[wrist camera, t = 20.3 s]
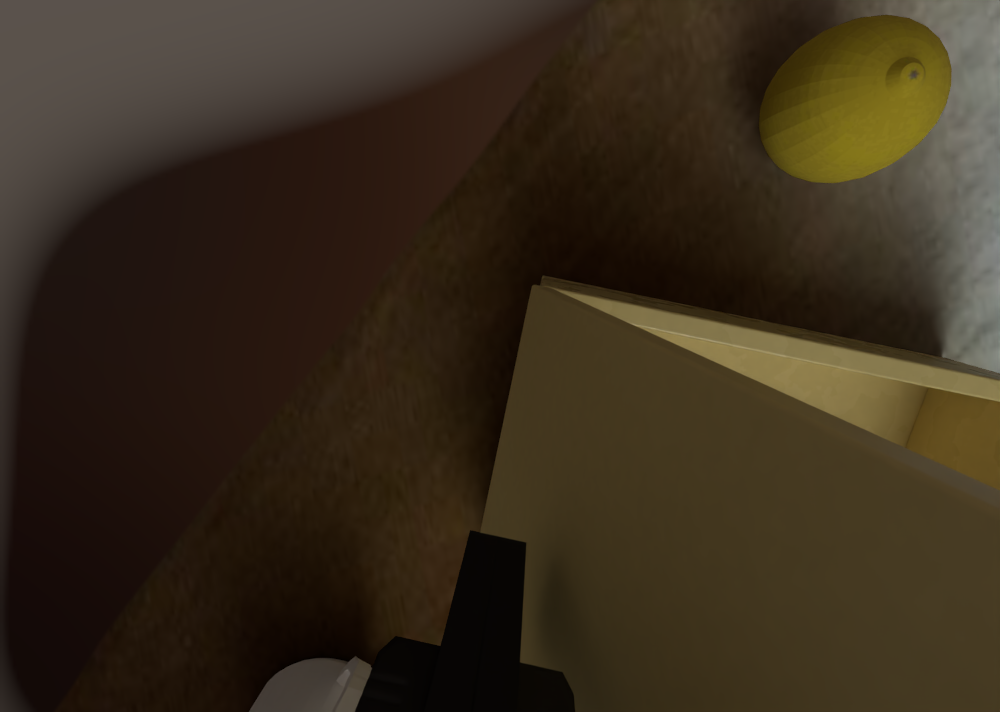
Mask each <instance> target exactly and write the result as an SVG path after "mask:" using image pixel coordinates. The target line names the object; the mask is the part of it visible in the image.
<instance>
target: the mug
mask: <svg viewBox="0 0 1000 712" xmlns="http://www.w3.org/2000/svg"><path fill="white" fill-rule="evenodd" d="M371 670H372V668H371V665H370V664H368V663H366V662H364V661H362V660H360V659H359V658H358V657H356V656H355V657H354V658H352V659H351V660H350V661H349V662H347V661H343V660H338V659H333V658H314V659H308V660H303V661H300V662H297V663H295V664H292V665H290V666H288V667H286V668H284V669H283V670H281V671H279V672H278V673H276V674H275V675H274V676H273V677H272V678H271V679H270V680H269V681H268V682H267V684H266V685H265V687H264V688H263V690H262V692H261V693H260V695H259V696H258V698H257V699H256V701H255V703H254V704H253V706H252V707H251V709H250V711H249V712H355V710H356V707H357V705H358V702H359V700H360V697H361V696H362V693H363V690H364V687H365V685H366V682H367V680H368V678H369V676H370V672H371Z"/></svg>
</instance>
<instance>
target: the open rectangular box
mask: <svg viewBox="0 0 1000 712" xmlns="http://www.w3.org/2000/svg"><path fill="white" fill-rule="evenodd" d="M540 286H544V287H549V288H552V289H555V290H557V291H559V292H561V293H563V294H566V295H568V296H570V297H572V298H574V299H577V300H579V301H581V302H583V303H586V304H588V305H590V306H592V307H594V308H597V309H599V310H601V311H603V312H605V313H608V314H610V315H612V316H614V317H617V318H619V319H621V320H623V321H625V322H628V323H630V324H632V325H634V326H636V327H639V328H641V329H643V330H645V331H648V332H650V333H652V334H654V335H656V336H659V337H661V338H663V339H665V340H667V341H670V342H672V343H674V344H676V345H679V346H681V347H683V348H685V349H687V350H690V351H692V352H694V353H696V354H698V355H701V356H703V357H705V358H707V359H710V360H712V361H714V362H716V363H718V364H721V365H723V366H725V367H727V368H729V369H732V370H734V371H736V372H738V373H741V374H743V375H745V376H747V377H749V378H752V379H754V380H756V381H758V382H760V383H763V384H765V385H767V386H769V387H772V388H774V389H776V390H778V391H780V392H783V393H785V394H787V395H789V396H791V397H794V398H796V399H798V400H800V401H803V402H805V403H807V404H809V405H811V406H814V407H816V408H818V409H820V410H822V411H825V412H827V413H829V414H831V415H834V416H836V417H838V418H840V419H842V420H845V421H847V422H849V423H851V424H853V425H856V426H858V427H860V428H862V429H865V430H867V431H869V432H871V433H873V434H876V435H878V436H880V437H882V438H885V439H887V440H889V441H891V442H893V443H896V444H898V445H900V446H902V447H904V448H907V449H909V450H911V451H913V452H916V453H918V454H920V455H922V456H924V457H927V458H929V459H931V460H933V461H935V462H938V463H940V464H942V465H944V466H947V467H949V468H951V469H953V470H955V471H958V472H960V473H962V474H964V475H966V476H969V477H971V478H973V479H975V480H978V481H980V482H982V483H984V484H986V485H989V486H991V487H993V488H995V489H997V490H1000V373H996V372H993V371H989V370H986V369H982V368H979V367H975V366H971V365H968V364H964V363H961V362H957V361H954V360H950V359H947V358H943V357H938V356H933V355H929V354H924V353H919V352H914V351H909V350H904V349H899V348H894V347H890V346H885V345H880V344H875V343H870V342H865V341H860V340H856V339H851V338H846V337H841V336H836V335H831V334H826V333H821V332H817V331H812V330H807V329H802V328H797V327H792V326H787V325H783V324H778V323H773V322H768V321H763V320H758V319H753V318H748V317H744V316H739V315H734V314H729V313H724V312H719V311H714V310H710V309H705V308H700V307H695V306H690V305H685V304H680V303H675V302H671V301H666V300H661V299H656V298H651V297H646V296H641V295H637V294H632V293H627V292H622V291H617V290H612V289H607V288H602V287H598V286H593V285H588V284H583V283H578V282H573V281H568V280H564V279H559V278H554V277H549V276H544V275H543V276H542V279H541V284H540Z"/></svg>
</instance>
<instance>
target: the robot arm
mask: <svg viewBox="0 0 1000 712" xmlns="http://www.w3.org/2000/svg"><path fill="white" fill-rule="evenodd" d="M526 543H527V542H522V541H517V540H513V539H508V538H504V537H499V536H494V535H490V534H485V533H480V532H476V531H471V530H470V533H469V537H468V541H467V545H466V549H465V553H464V557H463V561H462V565H461V569H460V573H459V577H458V580H457V584H456V588H455V592H454V596H453V600H452V604H451V608H450V612H449V616H448V620H447V624H446V628H445V632H444V635H443V639H442V643H441V646H437V645H433V644H429V643H424V642H420V641H415V640H411V639H406V638H402V637H397V636H395V637H394V638H393V639H392V640H391V641H390V642H389V643H388V644H387V645H386V646H385V647H384V648H383V649H381V650H380V651H379V653H378V655H377V658H376V660H375V663H374V665H373V667H372V670H371V672H370V676H369V678H368V680H367V682H366V685H365V687H364V690H363V693H362V696H361V697H360V700H359V702H358V705H357V707H356V710H355V712H575V703H574V694H573V692H572V690H571V688H570V686H569V684H568V682H567V680H566V678H565V676H564V674H563V672H561V671H556V670H552V669H547V668H543V667H538V666H534V665H530V664H525V663H521V662H520V651H521V633H522V615H523V597H524V579H525V561H526Z"/></svg>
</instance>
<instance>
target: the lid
mask: <svg viewBox="0 0 1000 712" xmlns="http://www.w3.org/2000/svg"><path fill="white" fill-rule="evenodd" d="M480 533H485V534H490V535H494V536H499V537H504V538H508V539H513V540H517V541H522V542H527V543H526V561H525V579H524V597H523V615H522V633H521V651H520V662H521V663H525V664H530V665H534V666H538V667H543V668H547V669H552V670H556V671H561V672H563V674H564V676H565V678H566V680H567V682H568V684H569V686H570V688H571V690H572V692H573V694H574V703H575V712H1000V490H997V489H995V488H993V487H991V486H989V485H986V484H984V483H982V482H980V481H978V480H975V479H973V478H971V477H969V476H966V475H964V474H962V473H960V472H958V471H955V470H953V469H951V468H949V467H947V466H944V465H942V464H940V463H938V462H935V461H933V460H931V459H929V458H927V457H924V456H922V455H920V454H918V453H916V452H913V451H911V450H909V449H907V448H904V447H902V446H900V445H898V444H896V443H893V442H891V441H889V440H887V439H885V438H882V437H880V436H878V435H876V434H873V433H871V432H869V431H867V430H865V429H862V428H860V427H858V426H856V425H853V424H851V423H849V422H847V421H845V420H842V419H840V418H838V417H836V416H834V415H831V414H829V413H827V412H825V411H822V410H820V409H818V408H816V407H814V406H811V405H809V404H807V403H805V402H803V401H800V400H798V399H796V398H794V397H791V396H789V395H787V394H785V393H783V392H780V391H778V390H776V389H774V388H772V387H769V386H767V385H765V384H763V383H760V382H758V381H756V380H754V379H752V378H749V377H747V376H745V375H743V374H741V373H738V372H736V371H734V370H732V369H729V368H727V367H725V366H723V365H721V364H718V363H716V362H714V361H712V360H710V359H707V358H705V357H703V356H701V355H698V354H696V353H694V352H692V351H690V350H687V349H685V348H683V347H681V346H679V345H676V344H674V343H672V342H670V341H667V340H665V339H663V338H661V337H659V336H656V335H654V334H652V333H650V332H648V331H645V330H643V329H641V328H639V327H636V326H634V325H632V324H630V323H628V322H625V321H623V320H621V319H619V318H617V317H614V316H612V315H610V314H608V313H605V312H603V311H601V310H599V309H597V308H594V307H592V306H590V305H588V304H586V303H583V302H581V301H579V300H577V299H574V298H572V297H570V296H568V295H566V294H563V293H561V292H559V291H557V290H555V289H552V288H549V287H544V286H538V285H533V286H532V288H531V293H530V297H529V302H528V307H527V312H526V316H525V321H524V326H523V331H522V335H521V340H520V345H519V350H518V354H517V359H516V364H515V369H514V373H513V378H512V383H511V388H510V392H509V397H508V402H507V407H506V411H505V416H504V421H503V426H502V430H501V435H500V440H499V445H498V449H497V454H496V459H495V464H494V468H493V473H492V478H491V483H490V487H489V492H488V497H487V502H486V506H485V511H484V516H483V521H482V525H481V530H480Z"/></svg>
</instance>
